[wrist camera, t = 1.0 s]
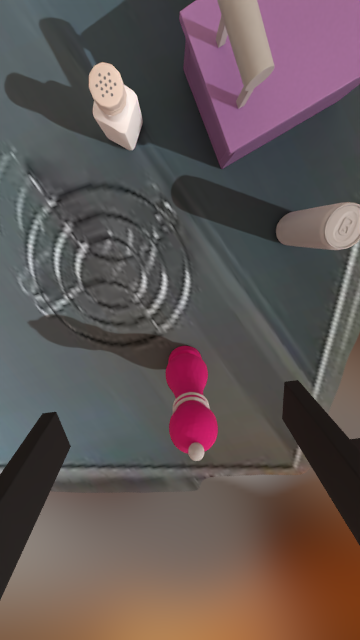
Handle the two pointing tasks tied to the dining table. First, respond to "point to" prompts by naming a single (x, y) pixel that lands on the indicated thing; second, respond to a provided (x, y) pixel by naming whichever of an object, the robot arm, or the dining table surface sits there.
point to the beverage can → (321, 227)
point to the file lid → (270, 59)
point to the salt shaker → (115, 106)
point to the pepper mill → (190, 403)
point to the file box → (227, 159)
